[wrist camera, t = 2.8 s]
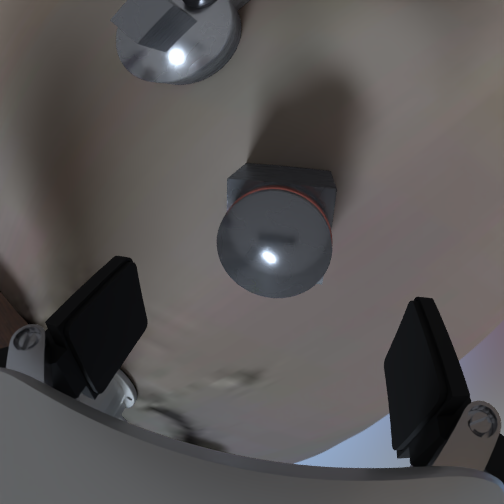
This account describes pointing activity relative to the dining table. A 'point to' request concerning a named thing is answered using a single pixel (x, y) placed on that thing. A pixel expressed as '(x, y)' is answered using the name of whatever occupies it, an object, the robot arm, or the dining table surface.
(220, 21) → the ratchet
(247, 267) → the grey domed block
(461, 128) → the dining table surface
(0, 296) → the tissue box cover
